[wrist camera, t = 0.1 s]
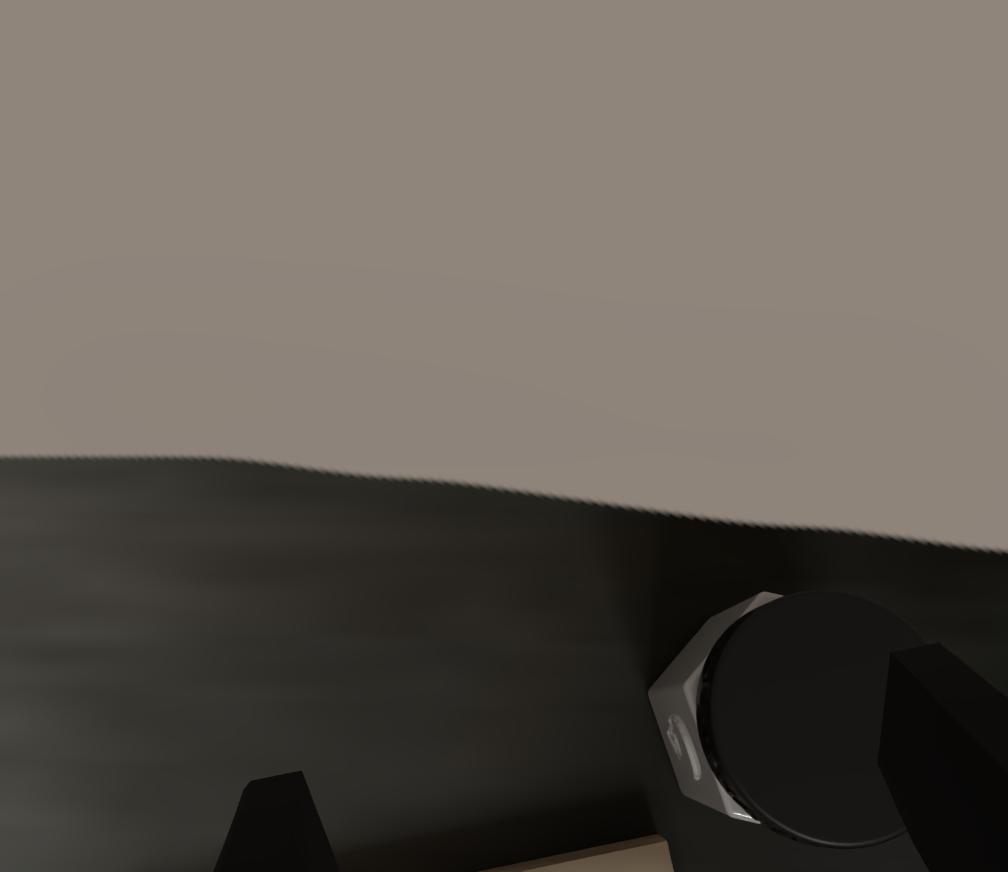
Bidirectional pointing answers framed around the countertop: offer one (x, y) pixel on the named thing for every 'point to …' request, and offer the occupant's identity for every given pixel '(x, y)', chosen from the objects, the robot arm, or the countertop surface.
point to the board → (604, 858)
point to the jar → (787, 715)
